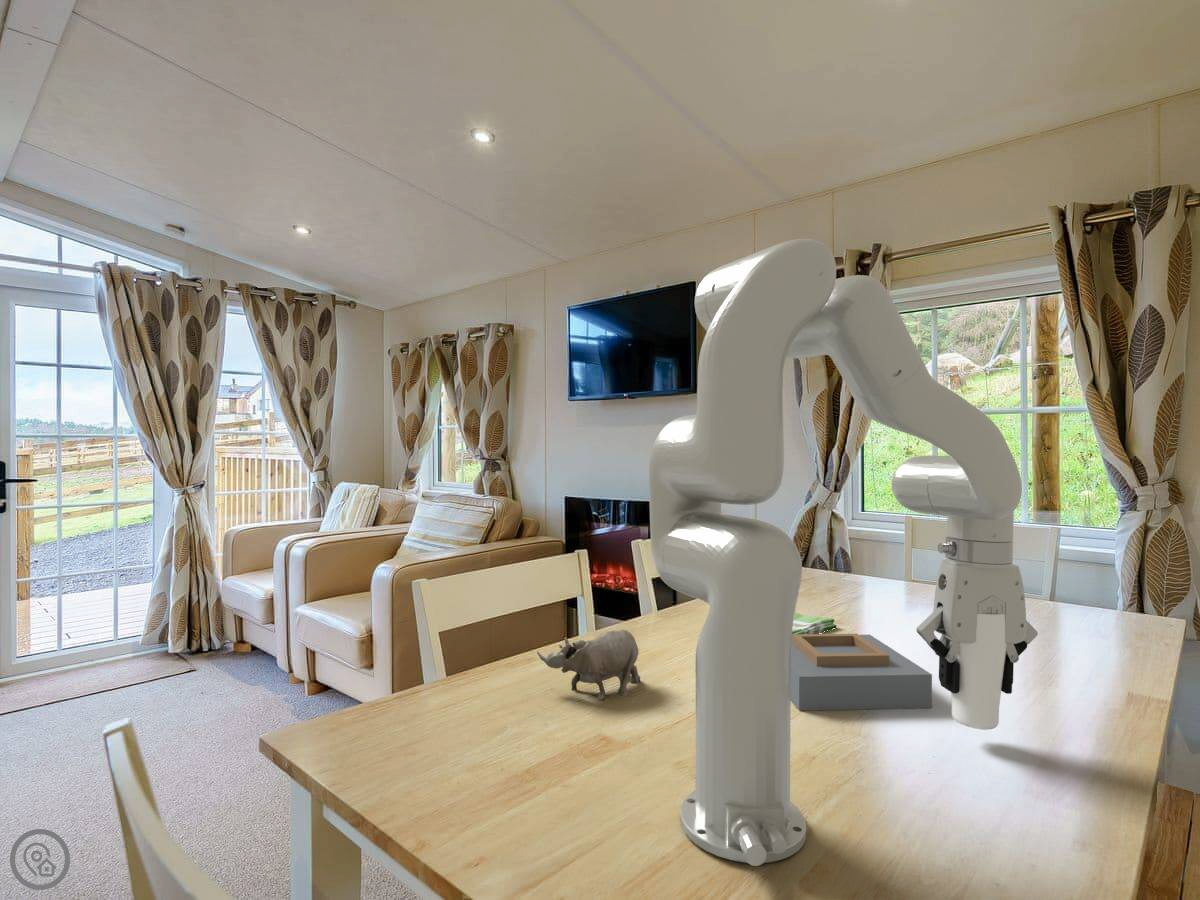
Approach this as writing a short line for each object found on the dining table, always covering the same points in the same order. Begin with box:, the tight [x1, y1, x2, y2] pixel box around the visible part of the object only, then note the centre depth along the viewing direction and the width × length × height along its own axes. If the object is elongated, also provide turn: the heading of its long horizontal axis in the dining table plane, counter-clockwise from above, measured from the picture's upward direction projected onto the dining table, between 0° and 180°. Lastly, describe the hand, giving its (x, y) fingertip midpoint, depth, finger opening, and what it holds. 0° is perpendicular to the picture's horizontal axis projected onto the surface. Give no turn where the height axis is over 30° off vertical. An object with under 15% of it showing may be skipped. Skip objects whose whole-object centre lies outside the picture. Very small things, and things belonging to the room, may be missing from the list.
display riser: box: [790, 633, 933, 712], centre depth 106 cm, size 20×20×6 cm
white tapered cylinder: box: [949, 614, 1007, 731], centre depth 85 cm, size 7×7×15 cm
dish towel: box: [792, 611, 837, 634], centre depth 137 cm, size 17×23×4 cm
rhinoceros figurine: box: [536, 629, 641, 702], centre depth 103 cm, size 8×14×15 cm
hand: (975, 688), depth 85 cm, fingers closed on white tapered cylinder, 6 cm apart
